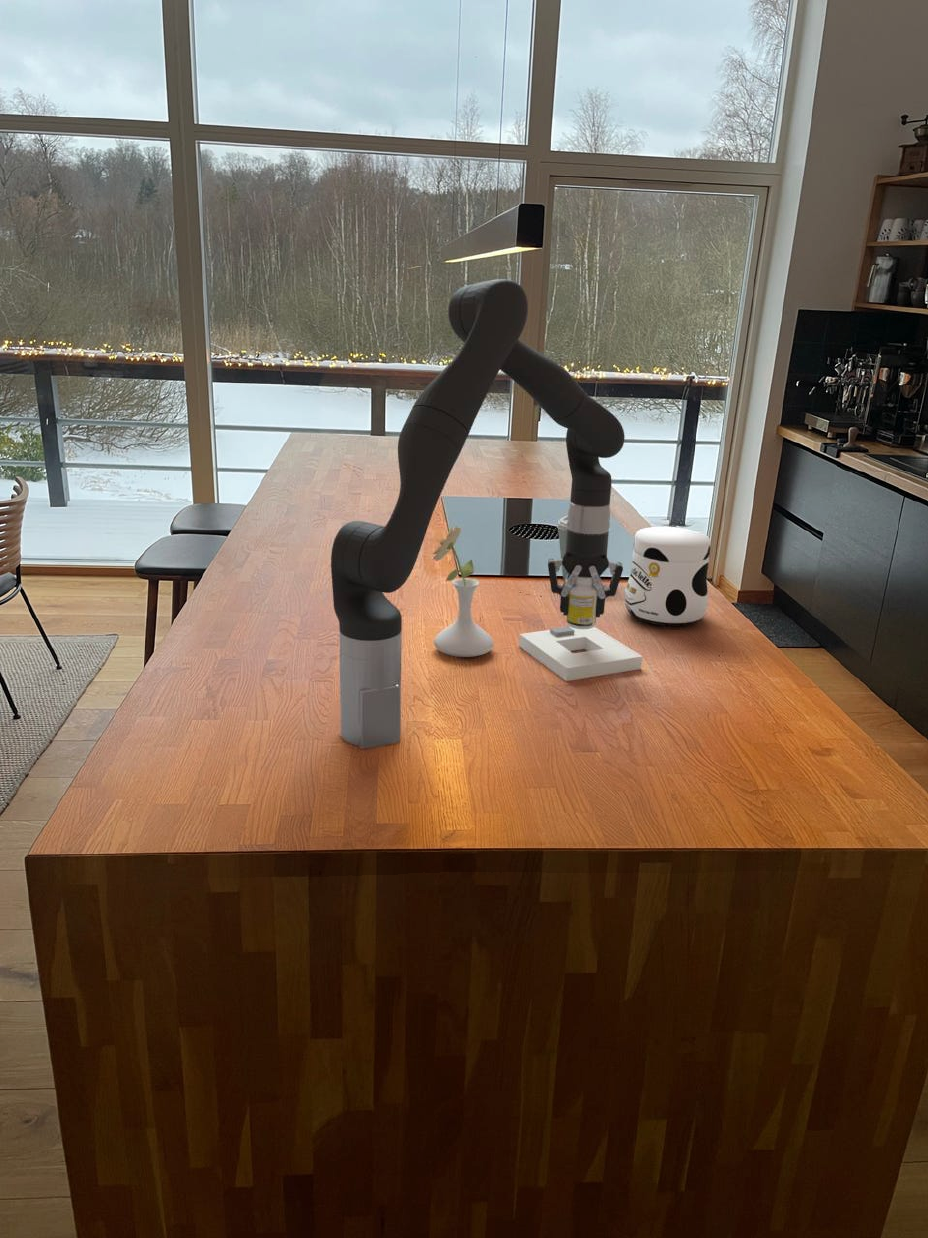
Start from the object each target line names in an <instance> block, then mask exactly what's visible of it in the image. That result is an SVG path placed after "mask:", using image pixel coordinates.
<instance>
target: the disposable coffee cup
mask: <svg viewBox="0 0 928 1238" xmlns="http://www.w3.org/2000/svg"><path fill="white" fill-rule="evenodd" d="M567 521H568V515H565V516H563V517H561V518H559V520H557V524H556V528H557V530H558V540H559V542H558V543H559V552H560V559H562V558H563V557H564V555H565V551H566V536H567ZM561 572H562V577H563V580H564V581H565V580H566V577H567V575H568V572H567V571H566V569H565V568H564V566H563V565H561Z"/></svg>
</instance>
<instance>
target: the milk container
mask: <svg viewBox="0 0 928 1238" xmlns="http://www.w3.org/2000/svg"><path fill="white" fill-rule="evenodd" d="M710 553H711V539H710V537H709V536H708V535H706V534H704V533H703V532H701V531H700V532H699V531H696V530H694V529H687V528H682V527H673V526H653V527H646V528H641V529H638V531H636V532H635V536H634V541H633V551H632V560H631V562H632V563H631V564H632V565H631V572H630V575H629V578H628V581H627V583H626V586H625V591H624V605H625V608H626V610H627V612H628V613H629V614H630V615H632V616H633V617H634V618H636V619H637V620H640V621H642V622H646V623H650V624H653V625H661V626H668V627H669V626H677V627H678V626H686V625H691V624H694V623H696V622H699V621H700V620H702V618H703V617H704V616H705V613H706V611H707V609H708V605H709V590H708V582H707V577H708V568H709V563H710Z"/></svg>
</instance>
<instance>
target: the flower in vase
mask: <svg viewBox="0 0 928 1238" xmlns="http://www.w3.org/2000/svg"><path fill="white" fill-rule="evenodd" d="M448 531H449V532H448V533H447V534H446V538H442V539H441V540H440V541H439V545H440V546H438V547H436V548H437V549H435V550H434V552H433V553H432V555H434V556H433V558H432V561H436V562H438V561H441V560H442V559H443V558H444V557H445V556H446V555H447V554H449V552H450V551H453V554H454V557H455V560H456V561H457V564H458V569H457V568H456V569H454V570H452V571H451V572H449V574H448V575H447V577H446V580H445V582H450V581H452V585H453V586H454V589H456V593H457V595H458V614H457V618H456V620H454V622H452V623H451V624H450V625H447V627H445V628H444V629H442V630H441V631H440V632H439V633H438V634H437V635H436V636H435V638H434V640H433V644H434V645H433V646H434V647H435V648H436V649H437V651H439V652H441V653H443V654H445V655H448V656H451V657H458V658H473V657H477V656H482V655H484V654H487V653H488V652H490V651H492V649H493V647H494V646H495V643H494V641H493V638H492V636H491V635H489V633H488V632H487V631H485V630H484V629H483V628H482V627H481V626H479V625H478V624H477V623H476V622H475V621H474V620H473V618H472V610H471V609H472V601H473V595H474V593H475V591H476V589H477V587H478V586H480V581H479V580H477V579H474V578H467V577H469V576H471V575H473V574H474V572H475V568H474V564H473V560H472V559H470V560H468V561H467V562H466V563H464V564H463V565H462V566H461V562H460V560H459V556H458V554H457V552H456V550H455V547H454V545H455V544H456V543H457V541H458V538H459V537H460V533H461V531H462V528H461V527H460V526H459V525H456V526H455V527H454V529H453V527H451V528H450V529H449V530H448ZM459 573H460V575H461V578H456V577H458V574H459ZM455 578H456V579H455Z"/></svg>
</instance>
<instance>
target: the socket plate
mask: <svg viewBox="0 0 928 1238" xmlns="http://www.w3.org/2000/svg"><path fill="white" fill-rule="evenodd" d="M518 638H519V639H518V640H519V641H518V647H520V648H521V649H522V650H524V651H525V652H526V653H527V654H529V655H530V656H531V657H533V658H534V659H536V661H537V662H540V663H541V664H542V665H543V666H545V668H548V669H549V670H550V671H552V672H553V673H554V674H556V675H557V676H558V677H559V678H561V679H562V680H563V681H565V682H569V681H576V680H583V679H589V678H593V677H594V678H595V677H599V676H606V675H612V674H618V673H625V672H631V671H637V670H641V669H642V663H643V656H642V655H641V654H639V653H637V652H636V651H634V650H633V649H631V648H629V647H628V646H626V645H625V644H623V643H622V642H620V641H618V640H617V639H615V638H613V637H612V636H610V635H609V634H607V633H605V632H603V631H602V630H600V629H599V628H597V627H595V626H594V627H593V628H590V629H576V628H572V627H570V626H568V625H567V626H559V627H553V628H552V627H551V628H550V629H547V630H540V631H539V630H538V631H532V632H525V633H519V637H518ZM580 650H585V651H581V652H572V651H580Z"/></svg>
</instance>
